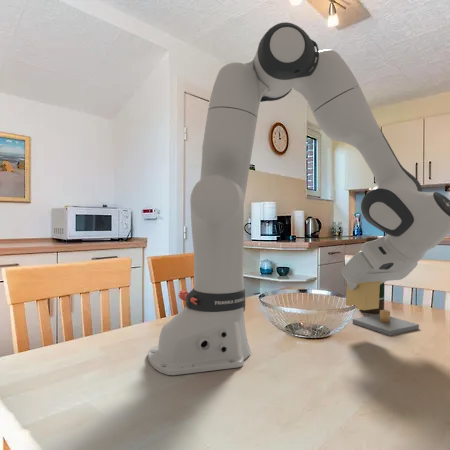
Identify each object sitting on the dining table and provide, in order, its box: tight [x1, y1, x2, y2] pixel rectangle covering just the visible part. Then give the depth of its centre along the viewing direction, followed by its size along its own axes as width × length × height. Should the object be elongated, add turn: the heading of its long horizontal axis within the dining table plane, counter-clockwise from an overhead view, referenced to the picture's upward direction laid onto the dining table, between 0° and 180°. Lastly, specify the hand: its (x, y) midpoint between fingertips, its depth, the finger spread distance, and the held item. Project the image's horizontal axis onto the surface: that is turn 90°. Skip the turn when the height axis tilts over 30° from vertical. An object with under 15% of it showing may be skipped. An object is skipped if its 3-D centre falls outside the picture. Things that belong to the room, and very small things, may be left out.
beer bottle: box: [359, 236, 385, 315], centre depth 114 cm, size 8×8×24 cm
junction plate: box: [352, 309, 420, 336], centre depth 98 cm, size 12×12×4 cm
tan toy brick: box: [345, 281, 380, 311], centre depth 90 cm, size 6×6×9 cm
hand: (360, 287), depth 90 cm, fingers closed on tan toy brick, 6 cm apart
